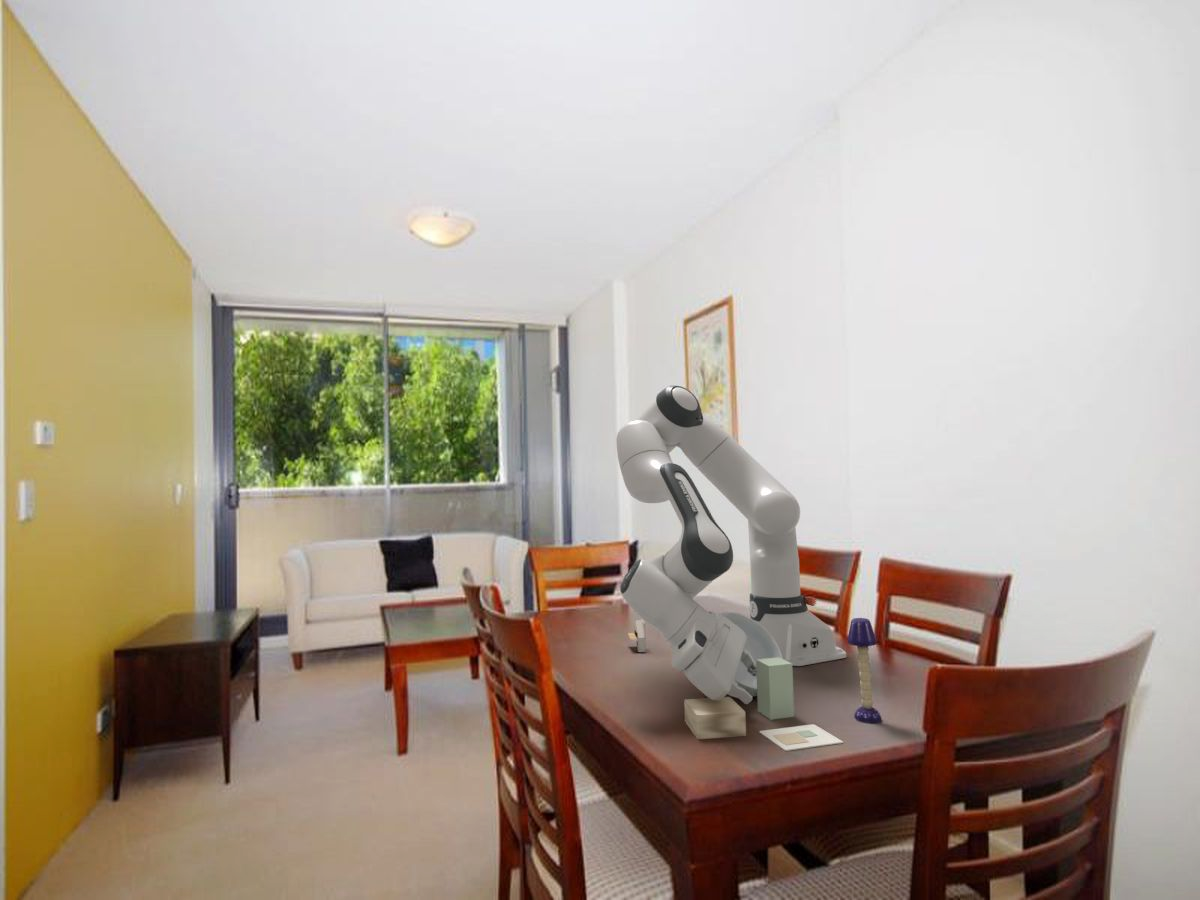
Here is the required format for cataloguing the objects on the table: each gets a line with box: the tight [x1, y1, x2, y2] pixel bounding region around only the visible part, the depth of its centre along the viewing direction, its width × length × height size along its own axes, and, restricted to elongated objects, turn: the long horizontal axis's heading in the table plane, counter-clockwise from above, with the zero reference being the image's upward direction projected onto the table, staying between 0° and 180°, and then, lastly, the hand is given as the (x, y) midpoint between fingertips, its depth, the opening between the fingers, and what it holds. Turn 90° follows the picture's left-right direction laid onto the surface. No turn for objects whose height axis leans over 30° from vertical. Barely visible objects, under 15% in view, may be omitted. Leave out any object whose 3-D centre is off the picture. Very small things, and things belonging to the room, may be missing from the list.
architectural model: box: [627, 618, 647, 653], centre depth 165 cm, size 3×7×7 cm, turn 5°
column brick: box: [756, 657, 795, 720], centre depth 117 cm, size 4×4×9 cm
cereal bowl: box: [718, 611, 782, 697], centre depth 131 cm, size 17×17×7 cm
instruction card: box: [758, 723, 844, 752], centre depth 106 cm, size 10×8×1 cm
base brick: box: [683, 696, 747, 740], centre depth 111 cm, size 8×8×4 cm
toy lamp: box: [847, 617, 882, 724], centre depth 114 cm, size 5×5×17 cm
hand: (754, 685), depth 120 cm, fingers open, 8 cm apart
